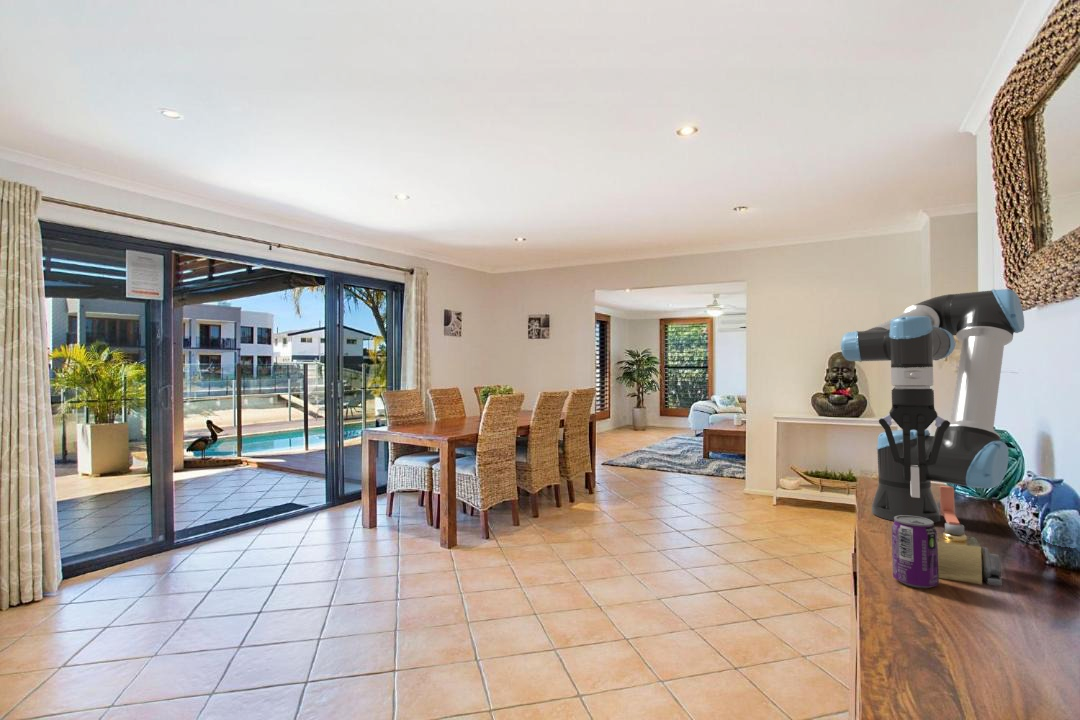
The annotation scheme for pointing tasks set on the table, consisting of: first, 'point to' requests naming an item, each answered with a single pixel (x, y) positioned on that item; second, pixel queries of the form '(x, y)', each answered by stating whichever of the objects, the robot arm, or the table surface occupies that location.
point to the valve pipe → (966, 560)
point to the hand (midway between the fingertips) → (915, 496)
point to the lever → (949, 511)
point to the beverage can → (915, 551)
